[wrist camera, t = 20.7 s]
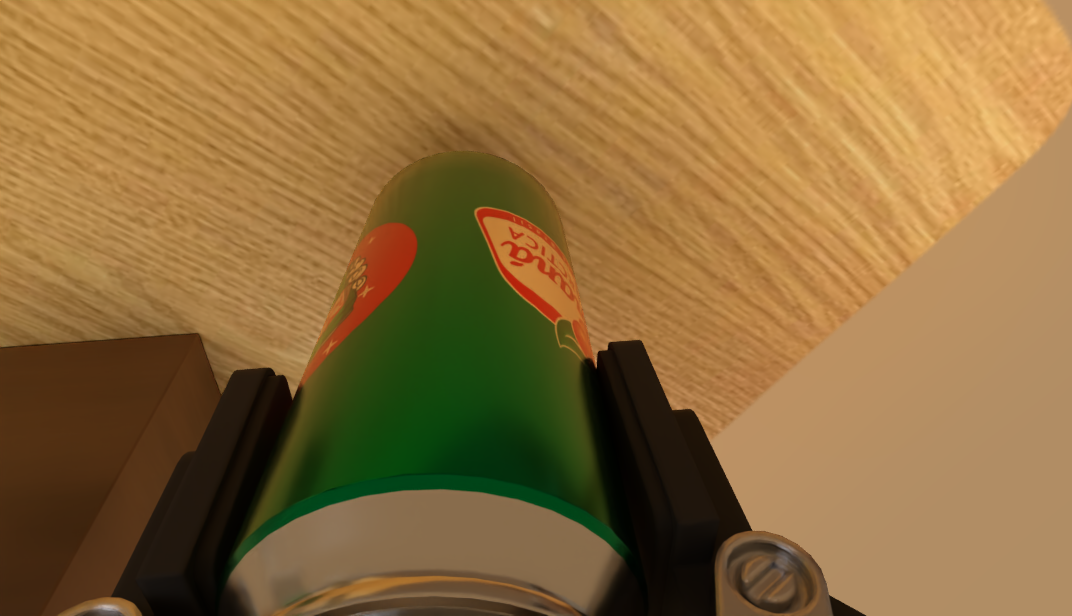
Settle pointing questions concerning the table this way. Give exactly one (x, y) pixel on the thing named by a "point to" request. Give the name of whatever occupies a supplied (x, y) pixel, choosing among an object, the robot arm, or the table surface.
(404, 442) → the soda can
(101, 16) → the table surface
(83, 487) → the pedestal
